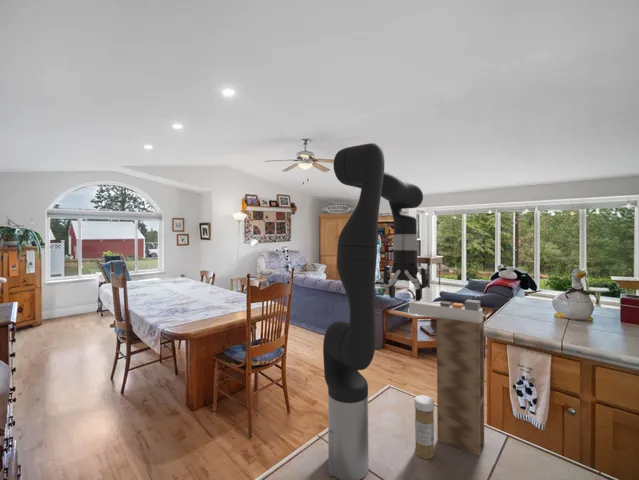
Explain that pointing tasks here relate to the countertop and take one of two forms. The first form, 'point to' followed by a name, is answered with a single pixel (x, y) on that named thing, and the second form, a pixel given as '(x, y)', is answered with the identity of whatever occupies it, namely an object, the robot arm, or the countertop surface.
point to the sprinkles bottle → (424, 426)
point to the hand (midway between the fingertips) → (405, 299)
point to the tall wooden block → (460, 384)
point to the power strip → (449, 310)
